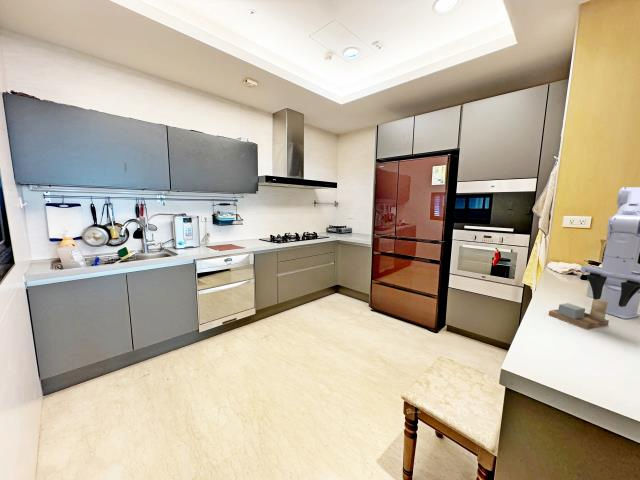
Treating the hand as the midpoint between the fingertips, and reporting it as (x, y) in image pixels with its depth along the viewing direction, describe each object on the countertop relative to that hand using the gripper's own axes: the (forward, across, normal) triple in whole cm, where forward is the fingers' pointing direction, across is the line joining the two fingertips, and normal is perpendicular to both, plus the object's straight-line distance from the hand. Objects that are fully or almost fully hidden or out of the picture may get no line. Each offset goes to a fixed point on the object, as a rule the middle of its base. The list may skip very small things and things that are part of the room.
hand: (608, 302), depth 75 cm
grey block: (+8, -8, 0) cm, 11 cm away
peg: (+8, -4, +6) cm, 11 cm away
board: (+9, -8, +3) cm, 12 cm away
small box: (+10, -18, +38) cm, 43 cm away
